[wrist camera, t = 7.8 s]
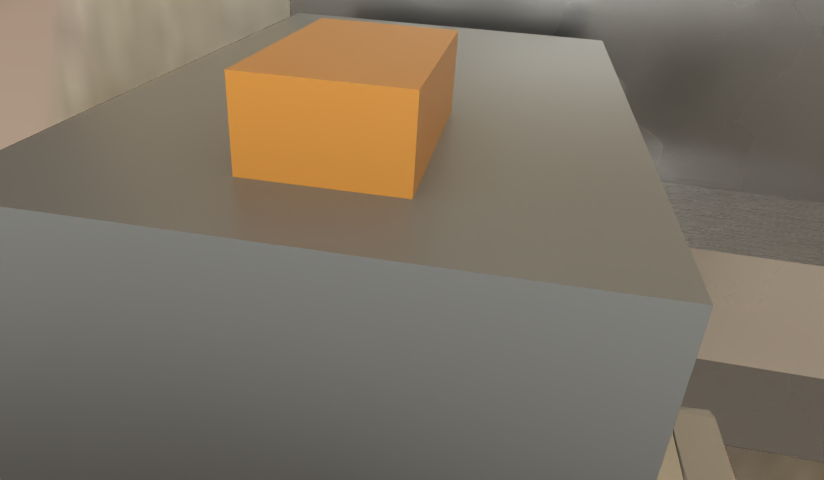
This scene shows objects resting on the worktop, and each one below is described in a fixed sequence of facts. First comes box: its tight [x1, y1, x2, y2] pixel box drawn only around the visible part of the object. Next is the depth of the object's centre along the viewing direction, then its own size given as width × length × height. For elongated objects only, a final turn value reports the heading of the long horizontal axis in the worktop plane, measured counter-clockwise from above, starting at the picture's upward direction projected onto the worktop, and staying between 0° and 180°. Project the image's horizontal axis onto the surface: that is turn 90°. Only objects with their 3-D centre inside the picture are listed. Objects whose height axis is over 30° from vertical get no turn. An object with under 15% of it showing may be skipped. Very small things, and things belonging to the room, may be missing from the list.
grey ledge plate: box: [290, 0, 824, 462], centre depth 12 cm, size 12×10×4 cm
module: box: [0, 13, 713, 480], centre depth 8 cm, size 4×9×7 cm, turn 177°
